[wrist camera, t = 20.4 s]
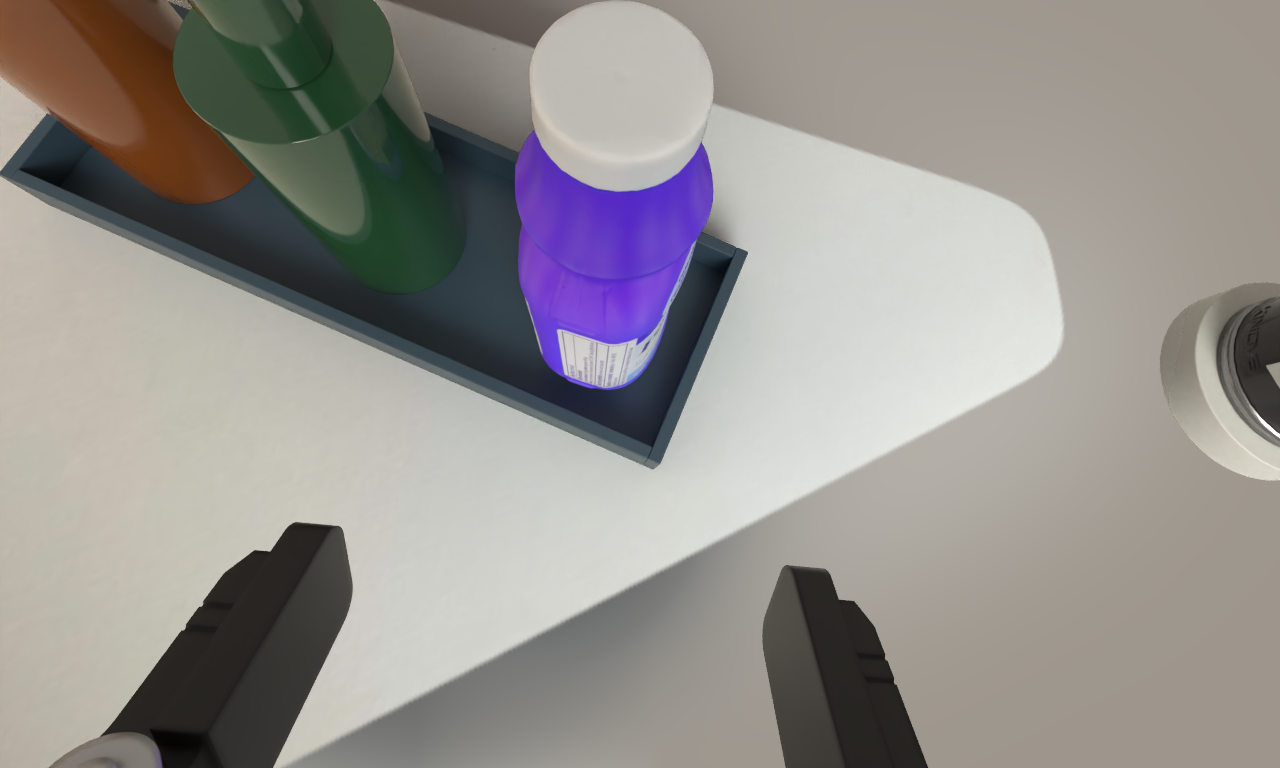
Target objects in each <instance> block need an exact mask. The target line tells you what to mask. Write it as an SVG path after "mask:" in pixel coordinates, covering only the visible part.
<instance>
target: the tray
mask: <svg viewBox="0 0 1280 768" xmlns="http://www.w3.org/2000/svg"><path fill="white" fill-rule="evenodd" d="M168 2H169V1H168ZM169 3H170V5H171V6H172V7H173V8H174V10H175V11H176V12H177V13H178V15H179V16H180V17H181V19H182V20H184V19H185V17H186V16H187V14H188V13H189V11H190V10H187V9H185V8H183V7H180V6H178V5H176V4H173V3H171V2H169ZM423 113H424V115H425V118H426V120H427V123H428V125H429V128H430V130H431V133H432V136H433V138H434V141H435V143H436V146H437V148H438V151H439V153H440V156H441V158H442V161H443V164H444V166H445V169H446V171H447V174H448V176H449V179H450V181H451V184H452V186H453V189H454V192H455V194H456V197H457V199H458V202H459V204H460V207H461V209H462V212H463V214H464V218H465V221H466V227H467V239H466V245H465V248H464V252H463V254H462V256H461V258H460V260H459V262H458V263H457V265H456V267H455V268H454V269H453V270H452V271H451V272H450V274H448V275H447V276H446V277H445V278H444V279H443V280H441V281H440V282H439V283H437V284H435V285H434V286H432V287H430V288H428V289H425V290H422V291H419V292H416V293H411V294H404V295H391V294H384V293H379V292H376V291H373V290H370V289H368V288H366V287H364V286H362V285H360V284H359V283H357V282H356V281H355V280H353V279H352V278H351V277H350V276H349V275H348V274H347V273H346V272H345V271H344V270H343V269H342V268H341V267H340V266H339V264H338V263H337V262H336V261H335V260H334V259H333V258H332V257H331V256H330V255H329V254H328V253H327V252H326V251H325V250H324V249H323V248H322V246H321V245H320V244H319V243H318V242H317V241H316V240H315V239H314V238H313V237H312V236H311V235H310V234H309V233H308V232H307V231H306V230H305V229H304V227H303V226H302V225H301V224H300V223H299V222H298V221H297V220H296V219H295V218H294V217H293V216H292V215H291V214H290V213H289V212H288V211H287V210H286V208H285V207H284V206H283V205H282V204H281V203H280V202H279V201H278V200H277V199H276V198H275V197H274V196H273V195H272V194H271V193H270V192H269V190H268V189H267V188H266V187H265V186H264V185H263V184H262V183H261V182H260V181H259V180H258V179H257V178H256V177H255V176H254V178H253V179H252V180H251V181H250V182H249V183H248V184H247V185H246V186H244V187H243V188H242V189H241V190H239V191H238V192H236V193H234V194H233V195H231V196H229V197H226V198H224V199H221V200H218V201H216V202H211V203H207V204H198V205H187V204H179V203H174V202H170V201H167V200H164V199H162V198H160V197H158V196H156V195H154V194H153V193H151V192H150V191H148V190H147V189H146V188H144V187H143V186H142V185H141V184H139V183H138V182H137V181H135V180H134V179H133V178H131V177H130V176H129V175H128V174H126V173H125V172H124V171H122V170H121V169H120V168H118V167H117V166H116V165H114V164H113V163H112V162H111V161H109V160H108V159H107V158H105V157H104V156H103V155H101V154H100V153H99V152H98V151H96V150H95V149H94V148H92V147H91V146H90V145H88V144H87V143H86V142H84V141H83V140H82V139H81V138H79V137H78V136H77V135H75V134H74V133H73V132H71V131H70V130H69V129H68V128H66V127H65V126H64V125H62V124H61V123H60V122H58V121H57V120H56V119H54V118H53V117H52V116H51V115H49V114H48V113H47V114H46V116H45V117H44V118H43V119H42V121H41V122H40V123H39V124H38V125H37V127H36V128H35V129H34V130H33V132H32V133H31V134H30V135H29V137H28V138H27V139H26V140H25V142H24V143H23V144H22V145H21V147H20V148H19V149H18V150H17V152H16V153H15V154H14V155H13V157H12V158H11V159H10V160H9V161H8V163H7V164H6V165H5V166H4V168H3V169H2V170H1V171H0V176H1V177H3V178H5V179H6V180H8V181H10V182H11V183H13V184H15V185H16V186H18V187H20V188H21V189H23V190H25V191H26V192H28V193H30V194H31V195H33V196H35V197H36V198H39V199H40V200H41V201H43V202H45V203H46V204H48V205H51V206H53V207H55V208H57V209H60V210H62V211H64V212H67V213H69V214H71V215H73V216H76V217H78V218H80V219H83V220H85V221H87V222H89V223H92V224H94V225H96V226H99V227H101V228H103V229H105V230H108V231H110V232H112V233H115V234H117V235H119V236H121V237H124V238H126V239H128V240H131V241H133V242H135V243H137V244H140V245H142V246H144V247H146V248H149V249H151V250H153V251H156V252H158V253H160V254H162V255H165V256H167V257H169V258H172V259H174V260H176V261H178V262H181V263H183V264H185V265H188V266H190V267H192V268H194V269H197V270H199V271H201V272H204V273H206V274H208V275H210V276H213V277H215V278H217V279H220V280H222V281H224V282H226V283H229V284H231V285H233V286H235V287H238V288H240V289H242V290H245V291H247V292H249V293H251V294H254V295H256V296H258V297H261V298H263V299H265V300H267V301H270V302H272V303H274V304H277V305H279V306H281V307H283V308H286V309H288V310H290V311H293V312H295V313H297V314H299V315H302V316H304V317H306V318H309V319H311V320H313V321H315V322H318V323H320V324H322V325H324V326H327V327H329V328H331V329H334V330H336V331H338V332H340V333H343V334H345V335H347V336H350V337H352V338H354V339H356V340H359V341H361V342H363V343H366V344H368V345H370V346H372V347H375V348H377V349H379V350H382V351H384V352H386V353H388V354H391V355H393V356H395V357H398V358H400V359H402V360H404V361H407V362H409V363H411V364H414V365H416V366H418V367H420V368H423V369H425V370H427V371H429V372H432V373H434V374H436V375H439V376H441V377H443V378H445V379H448V380H450V381H452V382H455V383H457V384H459V385H461V386H464V387H466V388H468V389H471V390H473V391H475V392H477V393H480V394H482V395H484V396H487V397H489V398H491V399H493V400H496V401H498V402H500V403H503V404H505V405H507V406H509V407H512V408H514V409H516V410H518V411H521V412H523V413H525V414H528V415H530V416H532V417H534V418H537V419H539V420H541V421H544V422H546V423H548V424H550V425H553V426H555V427H557V428H560V429H562V430H564V431H566V432H569V433H571V434H573V435H576V436H578V437H580V438H582V439H585V440H587V441H589V442H592V443H594V444H596V445H598V446H601V447H603V448H605V449H607V450H610V451H612V452H614V453H617V454H619V455H621V456H623V457H626V458H628V459H630V460H633V461H635V462H637V463H639V464H642V465H644V466H646V467H649V468H651V469H654V468H656V467H657V466H658V465H659V464H660V463H661V461H662V459H663V456H664V454H665V451H666V449H667V447H668V444H669V442H670V439H671V437H672V434H673V432H674V430H675V427H676V425H677V422H678V420H679V418H680V415H681V413H682V410H683V408H684V406H685V403H686V401H687V398H688V396H689V394H690V391H691V389H692V386H693V384H694V382H695V379H696V377H697V374H698V372H699V370H700V367H701V365H702V362H703V360H704V358H705V355H706V353H707V350H708V348H709V346H710V343H711V341H712V338H713V336H714V333H715V331H716V329H717V326H718V324H719V321H720V319H721V317H722V314H723V312H724V309H725V307H726V305H727V302H728V300H729V297H730V295H731V293H732V290H733V288H734V285H735V283H736V281H737V278H738V276H739V273H740V271H741V269H742V266H743V264H744V261H745V259H746V257H747V254H748V252H747V251H744V250H742V249H740V248H736V247H735V246H733V245H730V244H728V243H726V242H723V241H721V240H719V239H717V238H714V237H712V236H710V235H707V234H705V233H703V232H701V233H700V235H699V236H698V238H697V241H696V245H695V248H694V251H693V255H692V258H691V261H690V264H689V267H688V270H687V273H686V275H685V278H684V280H683V282H682V284H681V286H680V288H679V290H678V293H677V294H676V296H675V298H674V300H673V302H672V303H671V305H670V307H669V313H668V318H667V321H666V325H665V329H664V332H663V335H662V338H661V340H660V343H659V345H658V348H657V350H656V352H655V354H654V356H653V358H652V360H651V361H650V363H649V365H648V366H647V368H646V369H645V370H644V372H643V373H642V374H641V375H640V376H639V377H638V378H637V379H636V380H635V381H633V382H632V383H631V384H629V385H627V386H625V387H622V388H619V389H613V390H603V389H598V388H592V389H591V388H587V387H584V386H581V385H578V384H575V383H572V382H570V381H568V380H567V379H566V378H565V377H563V376H561V375H559V374H557V373H556V372H554V371H553V370H552V369H551V368H550V367H549V366H548V364H547V363H546V362H545V360H544V359H543V357H542V355H541V352H540V349H539V344H538V341H537V337H536V333H535V329H534V325H533V322H532V319H531V316H530V313H529V310H528V306H527V303H526V300H525V297H524V294H523V292H522V289H521V286H520V281H519V272H518V253H519V237H520V231H521V227H522V221H521V218H520V215H519V212H518V208H517V203H516V196H515V165H516V163H517V160H518V157H519V153H518V152H515V151H513V150H511V149H509V148H506V147H504V146H502V145H499V144H497V143H495V142H492V141H490V140H488V139H485V138H483V137H481V136H479V135H476V134H474V133H472V132H469V131H467V130H465V129H462V128H460V127H458V126H455V125H453V124H451V123H448V122H446V121H444V120H442V119H439V118H437V117H435V116H432V115H430V114H428V113H425V112H423Z"/></svg>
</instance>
